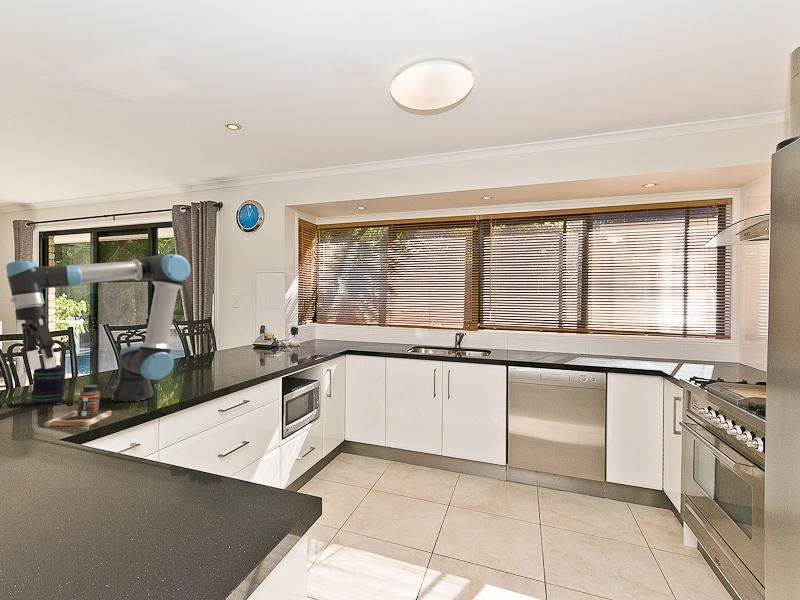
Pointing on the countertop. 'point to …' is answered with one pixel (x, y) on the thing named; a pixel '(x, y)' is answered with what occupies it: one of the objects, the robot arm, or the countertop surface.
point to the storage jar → (48, 385)
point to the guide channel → (63, 422)
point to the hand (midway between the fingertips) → (43, 368)
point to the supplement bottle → (89, 402)
